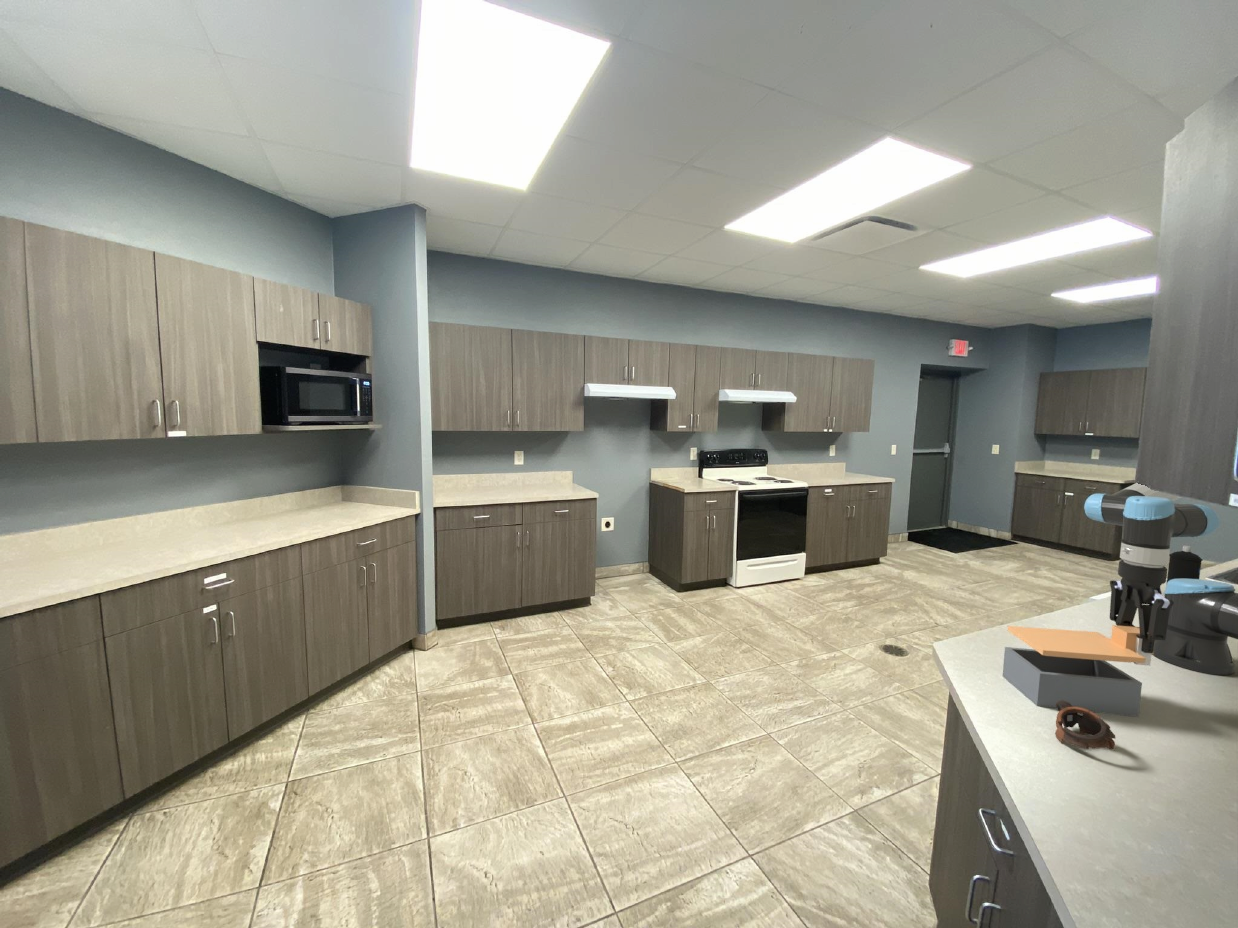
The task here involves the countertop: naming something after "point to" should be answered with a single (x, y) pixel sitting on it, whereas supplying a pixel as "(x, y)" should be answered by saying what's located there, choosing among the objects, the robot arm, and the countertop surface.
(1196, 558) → the aerosol can
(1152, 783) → the countertop surface
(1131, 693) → the tub
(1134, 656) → the lid
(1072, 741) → the brown jagged ring
